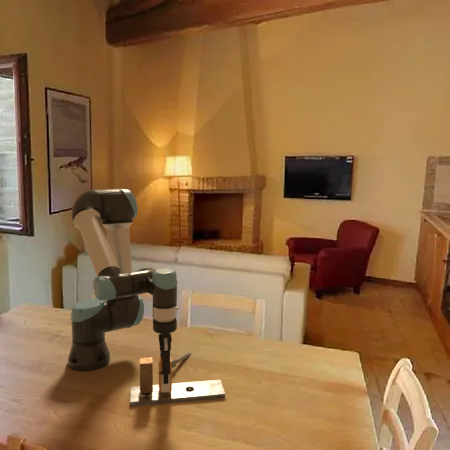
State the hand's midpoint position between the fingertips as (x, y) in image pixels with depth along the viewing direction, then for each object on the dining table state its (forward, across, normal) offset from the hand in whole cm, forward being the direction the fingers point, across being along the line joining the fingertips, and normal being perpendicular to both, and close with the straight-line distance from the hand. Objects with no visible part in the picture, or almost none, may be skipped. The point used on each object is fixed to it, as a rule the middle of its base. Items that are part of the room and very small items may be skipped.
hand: (165, 385), depth 137 cm
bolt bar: (+3, 0, -4) cm, 5 cm away
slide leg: (+1, 0, 0) cm, 1 cm away
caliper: (+4, +20, -6) cm, 21 cm away
